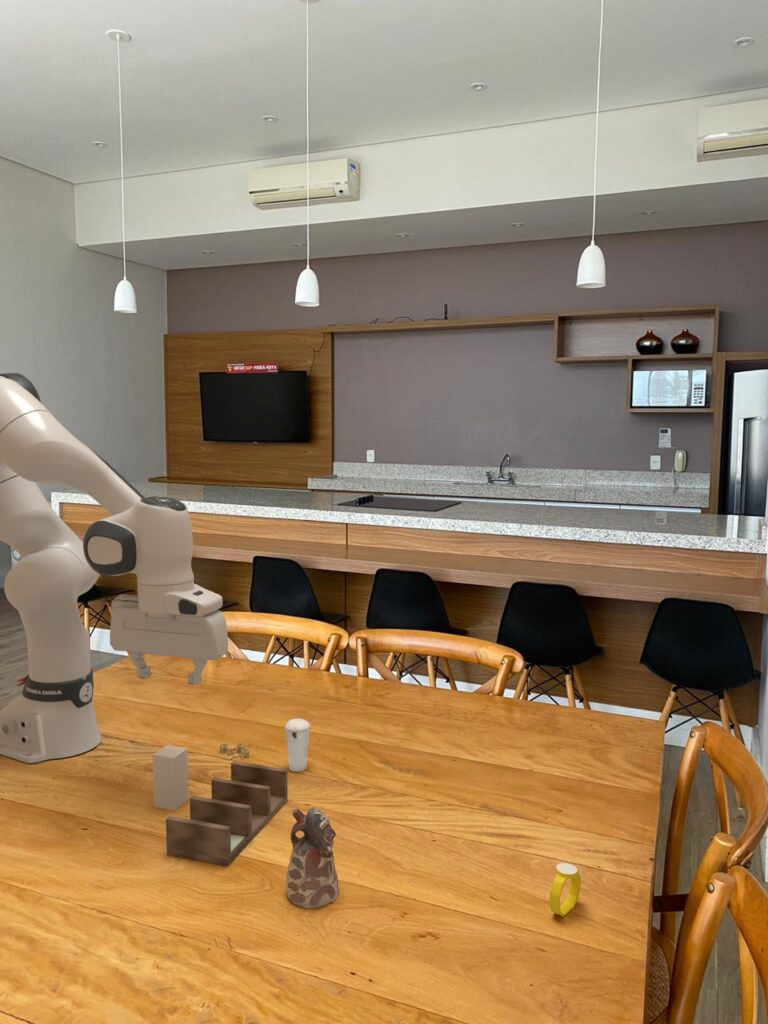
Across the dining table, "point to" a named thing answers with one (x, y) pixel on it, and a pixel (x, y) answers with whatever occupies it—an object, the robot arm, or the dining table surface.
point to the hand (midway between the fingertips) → (169, 680)
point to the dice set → (230, 750)
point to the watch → (563, 873)
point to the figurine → (312, 861)
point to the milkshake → (297, 743)
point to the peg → (170, 777)
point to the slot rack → (228, 814)
